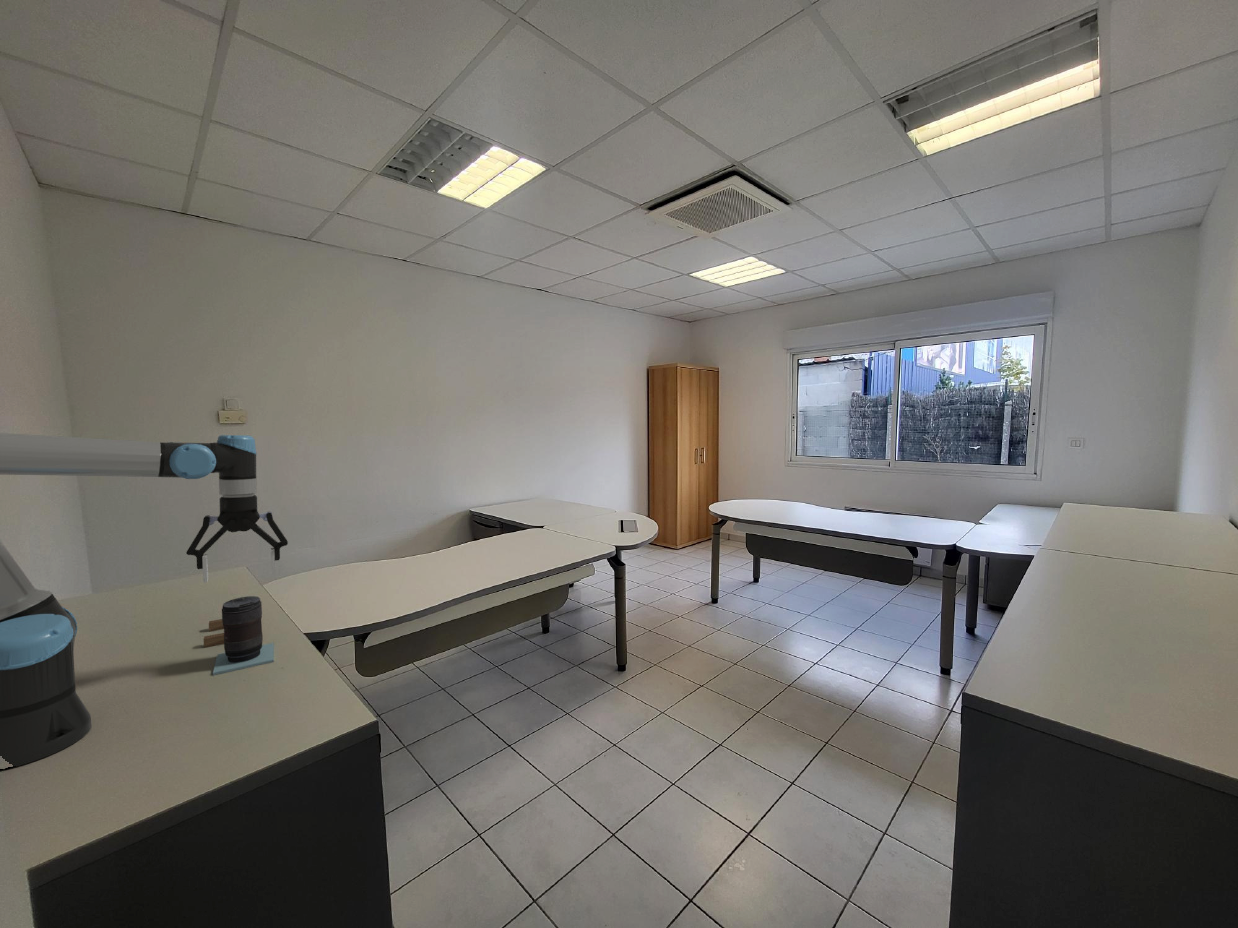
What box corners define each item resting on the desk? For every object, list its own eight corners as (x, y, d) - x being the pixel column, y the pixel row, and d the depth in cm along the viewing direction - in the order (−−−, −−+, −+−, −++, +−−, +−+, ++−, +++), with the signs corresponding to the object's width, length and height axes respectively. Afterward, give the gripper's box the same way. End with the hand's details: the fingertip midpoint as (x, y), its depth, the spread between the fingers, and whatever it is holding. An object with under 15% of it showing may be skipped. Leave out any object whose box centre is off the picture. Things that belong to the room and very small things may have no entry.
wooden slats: (254, 637, 136) (253, 626, 136) (203, 647, 130) (203, 635, 130) (255, 620, 148) (255, 610, 148) (209, 629, 142) (209, 617, 142)
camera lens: (217, 659, 122) (215, 603, 121) (253, 647, 129) (251, 593, 128) (233, 667, 118) (230, 608, 117) (269, 654, 125) (267, 599, 124)
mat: (273, 661, 122) (273, 659, 122) (212, 675, 115) (212, 672, 115) (273, 644, 132) (273, 642, 132) (217, 656, 125) (217, 654, 125)
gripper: (296, 491, 131) (298, 566, 132) (174, 496, 117) (177, 580, 118) (297, 494, 125) (299, 572, 126) (169, 500, 110) (172, 589, 112)
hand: (240, 576), depth 122 cm, fingers open, 13 cm apart
